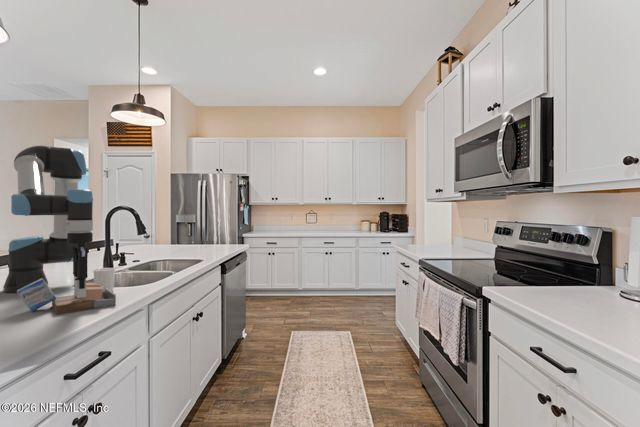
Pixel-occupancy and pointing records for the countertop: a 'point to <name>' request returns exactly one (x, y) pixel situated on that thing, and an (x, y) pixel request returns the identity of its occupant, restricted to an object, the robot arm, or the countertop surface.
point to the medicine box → (36, 294)
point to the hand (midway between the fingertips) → (80, 295)
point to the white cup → (105, 278)
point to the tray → (105, 300)
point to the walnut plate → (70, 304)
